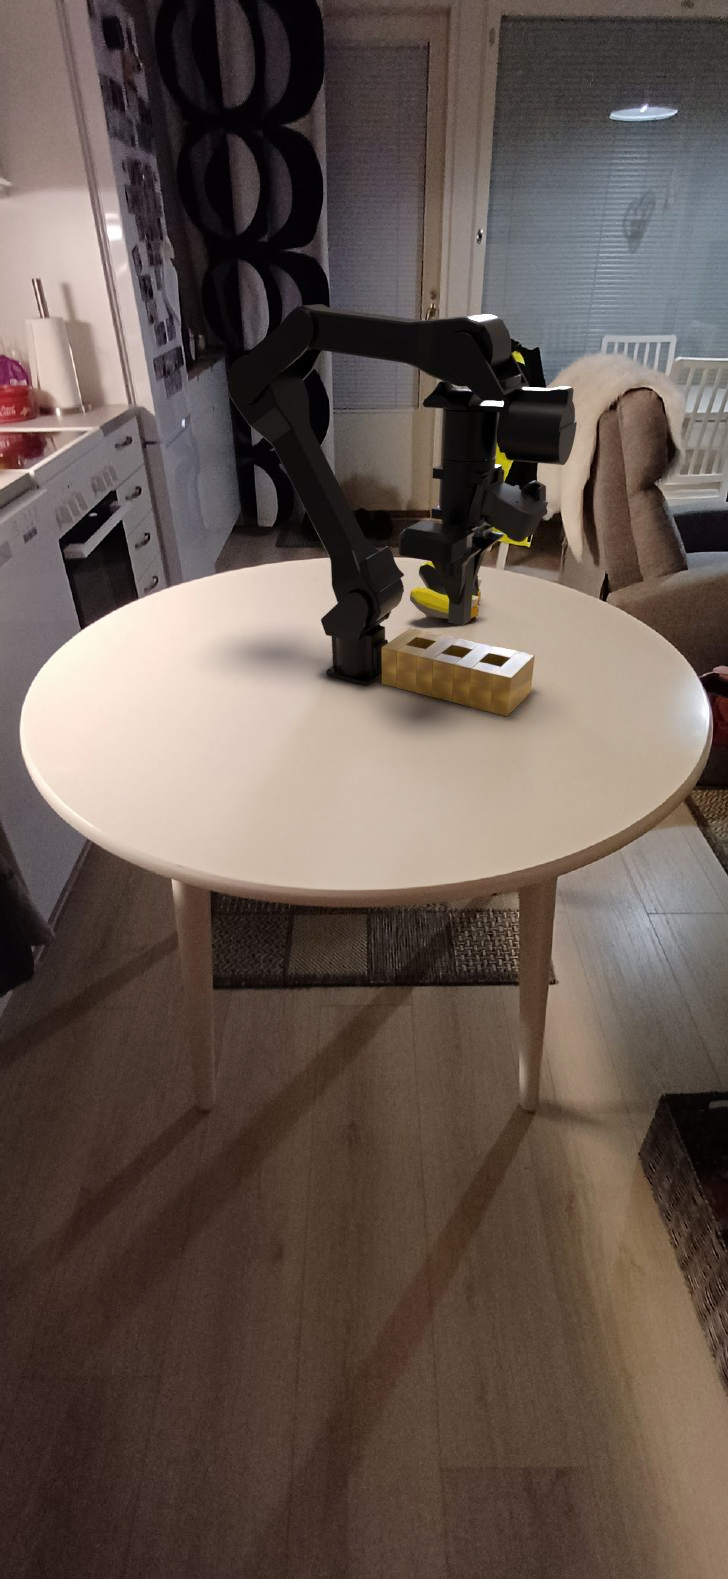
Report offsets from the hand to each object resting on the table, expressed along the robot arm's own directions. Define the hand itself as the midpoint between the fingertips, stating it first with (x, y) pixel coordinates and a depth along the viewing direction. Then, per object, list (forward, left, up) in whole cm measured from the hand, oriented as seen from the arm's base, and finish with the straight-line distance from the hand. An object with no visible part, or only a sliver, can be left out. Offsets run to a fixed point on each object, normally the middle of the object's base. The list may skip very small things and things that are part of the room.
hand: (459, 600), depth 89 cm
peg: (0, 0, -3) cm, 3 cm away
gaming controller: (-13, +24, -12) cm, 30 cm away
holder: (0, +1, -12) cm, 12 cm away
